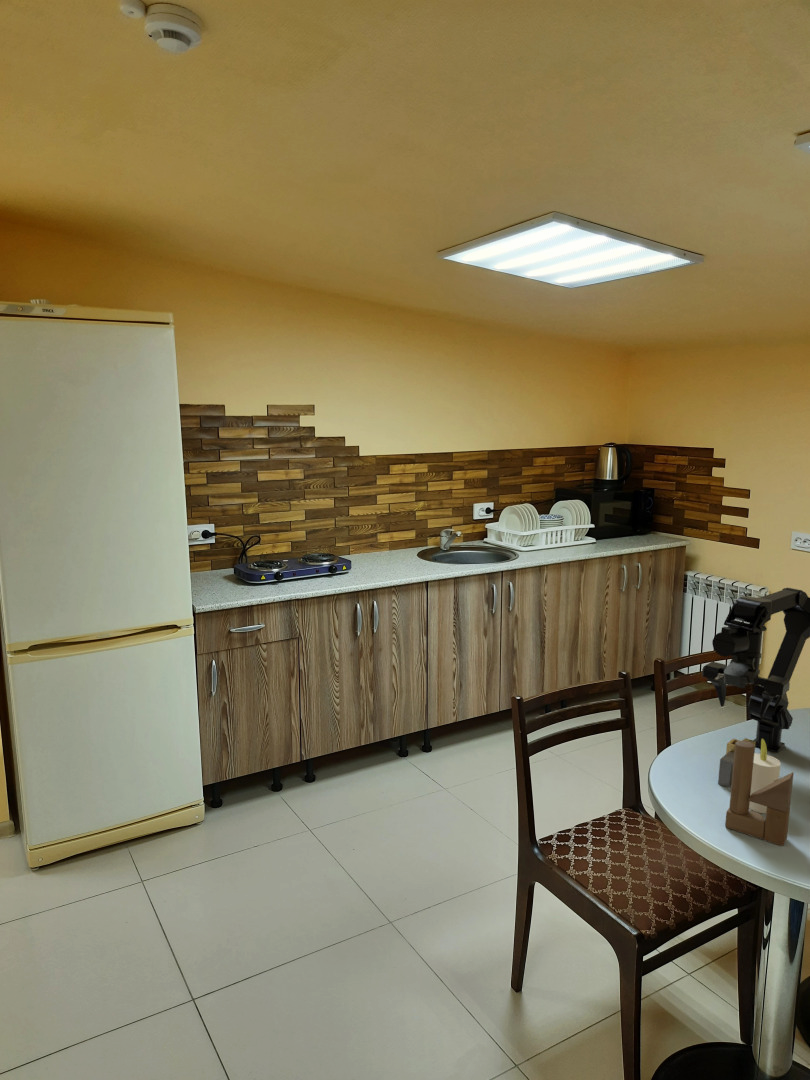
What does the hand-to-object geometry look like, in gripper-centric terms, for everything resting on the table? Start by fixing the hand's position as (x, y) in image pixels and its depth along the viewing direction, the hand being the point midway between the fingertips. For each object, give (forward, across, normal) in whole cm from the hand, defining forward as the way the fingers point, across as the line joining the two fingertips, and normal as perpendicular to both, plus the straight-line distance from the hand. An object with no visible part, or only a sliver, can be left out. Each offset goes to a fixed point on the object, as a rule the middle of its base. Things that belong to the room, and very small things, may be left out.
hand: (741, 711), depth 176 cm
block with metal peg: (+12, +3, -12) cm, 17 cm away
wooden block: (+12, +15, -33) cm, 38 cm away
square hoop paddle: (+12, +3, -6) cm, 14 cm away
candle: (+12, +12, -21) cm, 27 cm away
